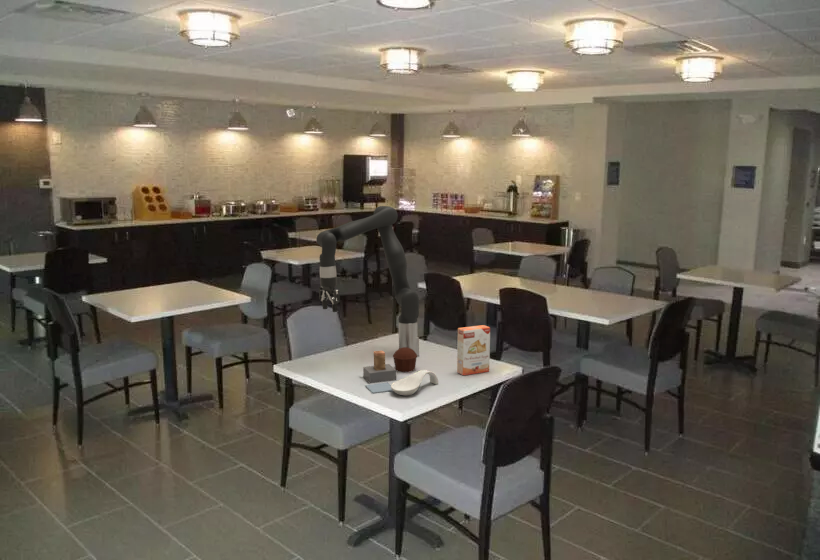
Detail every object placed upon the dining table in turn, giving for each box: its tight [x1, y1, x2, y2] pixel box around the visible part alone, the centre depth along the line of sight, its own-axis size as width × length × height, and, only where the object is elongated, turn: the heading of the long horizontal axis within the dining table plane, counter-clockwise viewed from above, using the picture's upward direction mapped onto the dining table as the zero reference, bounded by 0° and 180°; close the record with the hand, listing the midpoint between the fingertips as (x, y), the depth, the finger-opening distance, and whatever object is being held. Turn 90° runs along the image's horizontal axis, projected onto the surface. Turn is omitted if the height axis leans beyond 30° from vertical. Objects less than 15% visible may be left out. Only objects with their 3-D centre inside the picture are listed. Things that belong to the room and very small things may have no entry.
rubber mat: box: [365, 381, 394, 394], centre depth 275 cm, size 10×10×1 cm
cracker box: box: [456, 324, 491, 376], centre depth 294 cm, size 14×6×21 cm, turn 115°
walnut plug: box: [373, 350, 386, 371], centre depth 288 cm, size 4×4×12 cm
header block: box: [362, 363, 397, 384], centre depth 288 cm, size 12×10×4 cm
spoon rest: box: [390, 369, 439, 397], centre depth 273 cm, size 24×12×7 cm, turn 135°
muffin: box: [392, 347, 418, 373], centre depth 301 cm, size 12×11×10 cm
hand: (330, 310), depth 301 cm, fingers open, 8 cm apart
